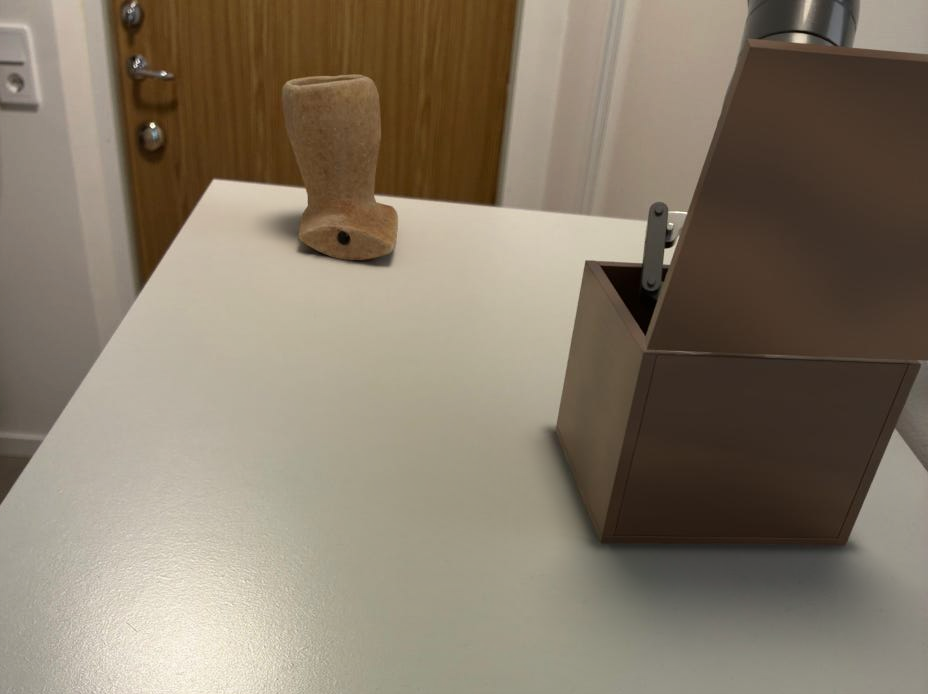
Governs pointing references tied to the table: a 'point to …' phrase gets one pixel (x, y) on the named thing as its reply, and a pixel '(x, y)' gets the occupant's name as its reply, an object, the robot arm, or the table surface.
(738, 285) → the chest lid
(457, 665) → the table surface
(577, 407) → the chest
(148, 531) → the table surface
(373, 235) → the tan boot
